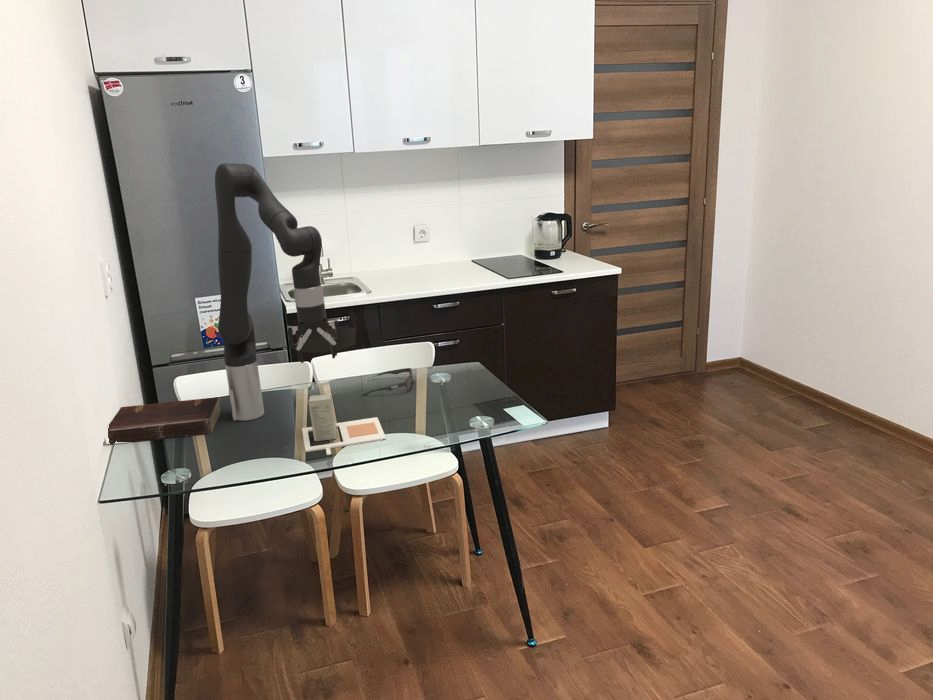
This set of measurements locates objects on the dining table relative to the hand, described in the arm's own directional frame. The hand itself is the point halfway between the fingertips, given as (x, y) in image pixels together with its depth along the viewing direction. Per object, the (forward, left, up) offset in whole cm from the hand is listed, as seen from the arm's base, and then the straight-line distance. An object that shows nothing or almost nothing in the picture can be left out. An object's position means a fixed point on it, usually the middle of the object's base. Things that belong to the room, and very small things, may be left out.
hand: (318, 359), depth 204 cm
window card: (+4, -3, -23) cm, 23 cm away
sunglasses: (+23, +33, -23) cm, 46 cm away
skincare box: (-1, -1, -23) cm, 23 cm away
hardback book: (-46, +25, -23) cm, 57 cm away
